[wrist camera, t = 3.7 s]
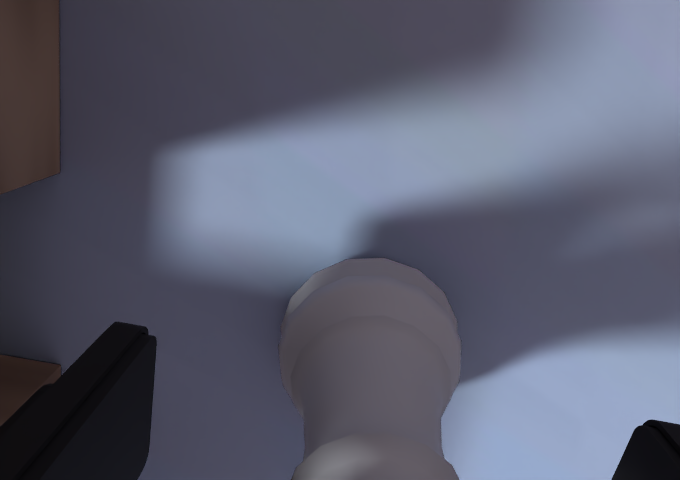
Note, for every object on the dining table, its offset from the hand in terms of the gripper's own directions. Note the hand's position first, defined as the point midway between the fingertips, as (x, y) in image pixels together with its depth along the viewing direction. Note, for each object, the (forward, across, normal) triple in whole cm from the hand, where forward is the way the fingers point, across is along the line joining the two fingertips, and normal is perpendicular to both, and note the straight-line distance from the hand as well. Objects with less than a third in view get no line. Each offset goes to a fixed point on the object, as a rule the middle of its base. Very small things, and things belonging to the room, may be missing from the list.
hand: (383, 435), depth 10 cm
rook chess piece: (+4, 0, 0) cm, 4 cm away
